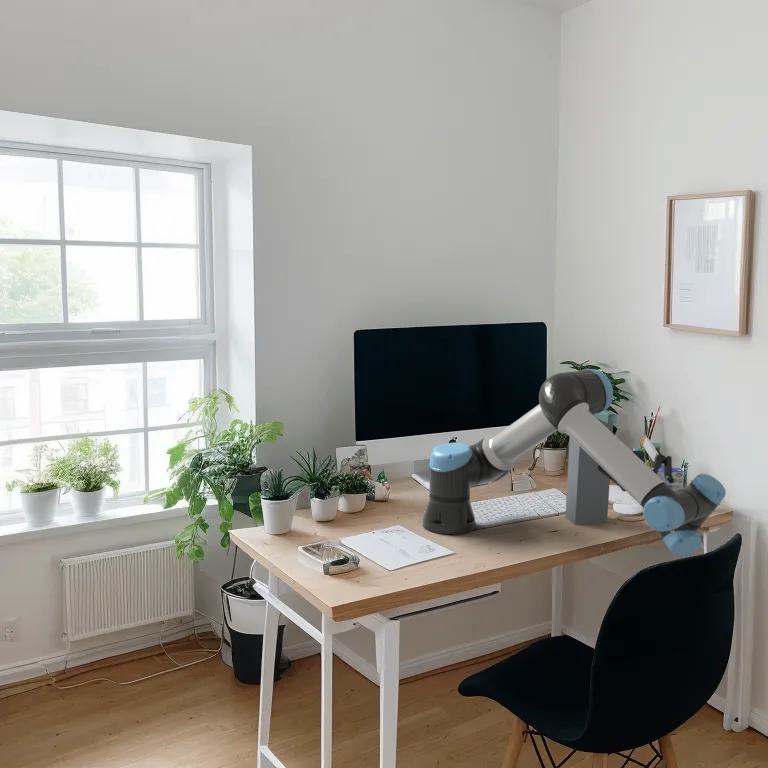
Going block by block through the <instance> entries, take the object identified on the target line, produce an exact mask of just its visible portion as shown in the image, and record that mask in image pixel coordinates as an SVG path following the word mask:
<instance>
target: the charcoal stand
mask: <svg viewBox="0 0 768 768" xmlns="http://www.w3.org/2000/svg"><path fill="white" fill-rule="evenodd" d="M598 420H599V419H598ZM599 421H600V422H601V423H602V424H603V425H604V426H605V427H606V428H607V429H609V430H610V431H611V432H612V433H613V434H614V432H613V431H614V423H606V422H604V421H602V420H599ZM568 443H569V445H568V464H567V465H568V466H567V480H566V481H567V482H566V497H565V498H566V499H565V500H566V503H565V518H567V519H568V520H569V521H570V522H572V523H573V524H574V525H591V524H592V525H593V524H594V525H595V524H607V523H608V517H609V516H608V513H609V512H608V511H609V498H610V484H611V483H610V481H611V479H609V478H608V477H607V476H606V475H604V474H603V473H602V472H600V471H599V470H598V469H597V467H598V463H597V462H596V461H595V460H594V459H593V458H592V457H591V456H590V455H588V454H587V453H586V452H585V451H584V450H583V449H582V448H581V447H580V446H579V445H578V444H577V443H576V442H575V441H574V440H573V439H572V438H571V437H570V436H569V442H568Z"/></svg>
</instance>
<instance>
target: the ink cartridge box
mask: <svg viewBox="0 0 768 768" xmlns="http://www.w3.org/2000/svg"><path fill="white" fill-rule="evenodd" d="M662 464H663V463H662ZM662 464H661V466H660V468H659V471H658V473H657V475H658V476H659V477H660V478H662V479H663V480H664V464H663V465H662ZM649 468H650V469H651V470H652V471H653V469H654V467H649ZM672 476H673V478H674V482H673V485H672V487H671V488H672V489H673V490H674V491H676V490H679V489H682V488H684V483H685V482H684V481H685V479H684V478H685V471H684V470H682V469H681V468H680V467H672Z"/></svg>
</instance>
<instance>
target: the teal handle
mask: <svg viewBox="0 0 768 768" xmlns="http://www.w3.org/2000/svg"><path fill="white" fill-rule="evenodd" d="M593 415H594V416H595V417H596V418H597V419H599V420H602V421H604V422H606V423H613V424H617V417H618V416H617V415H618V414H617V413H614V412H612V411H610V410H608V409H606V410H605V411H603V412H601V413H594V414H593Z"/></svg>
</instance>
